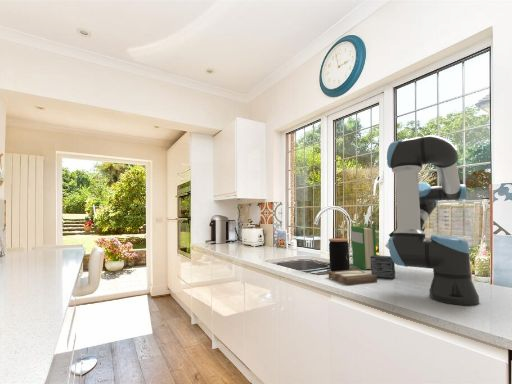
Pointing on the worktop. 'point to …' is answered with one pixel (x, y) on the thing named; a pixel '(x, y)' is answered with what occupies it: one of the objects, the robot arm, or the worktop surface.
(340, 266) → the coffee jar
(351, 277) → the walnut stand
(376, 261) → the small box
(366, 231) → the hardback book
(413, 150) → the robot arm
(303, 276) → the worktop surface
